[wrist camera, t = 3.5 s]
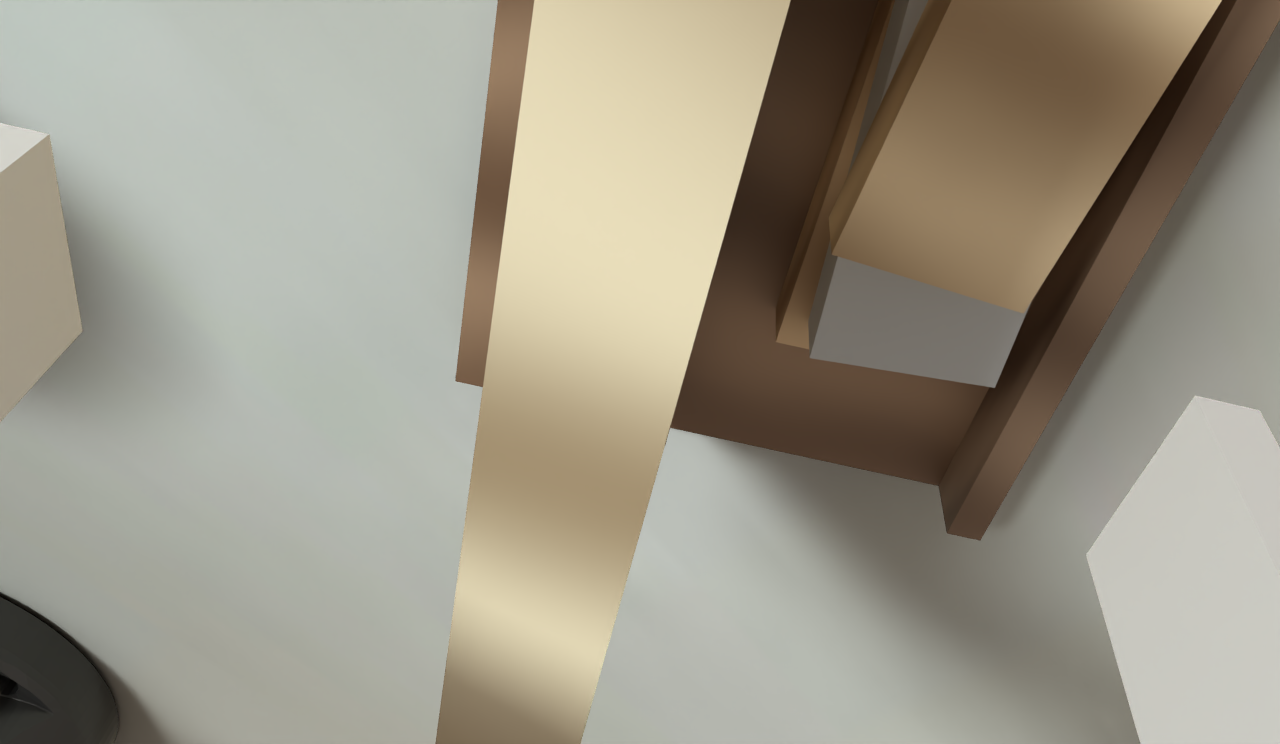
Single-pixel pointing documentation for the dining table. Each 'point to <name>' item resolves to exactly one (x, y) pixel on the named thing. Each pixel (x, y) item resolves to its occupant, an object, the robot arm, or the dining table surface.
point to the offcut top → (1005, 136)
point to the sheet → (592, 337)
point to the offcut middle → (905, 289)
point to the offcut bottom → (828, 193)
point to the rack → (769, 232)
